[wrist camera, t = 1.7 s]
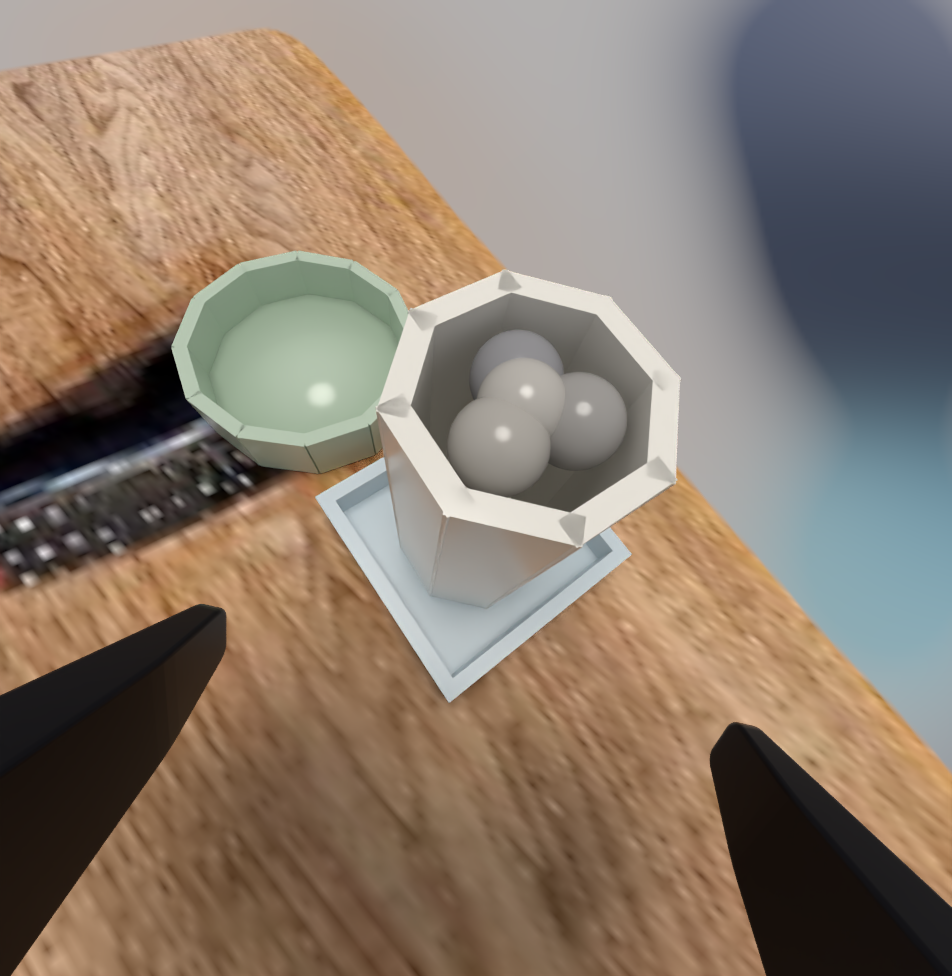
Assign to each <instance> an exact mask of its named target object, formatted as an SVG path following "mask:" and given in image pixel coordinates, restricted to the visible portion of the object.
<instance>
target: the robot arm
mask: <svg viewBox="0 0 952 976" xmlns="http://www.w3.org/2000/svg"><path fill="white" fill-rule="evenodd" d="M225 649H226V612H225V610H224V609H222V608H219V607H214V606H210V605H205V604H199V605H195V606H193V607H191V608H189V609H186V610H184V611H182V612H180V613H178V614H176V615H173V616H171V617H169V618H167V619H165V620H163V621H160V622H158V623H156V624H154V625H152V626H150V627H147V628H145V629H143V630H141V631H139V632H137V633H134V634H132V635H130V636H128V637H126V638H124V639H121V640H119V641H117V642H115V643H113V644H111V645H108V646H106V647H104V648H102V649H100V650H98V651H95V652H93V653H91V654H89V655H87V656H85V657H82V658H80V659H78V660H76V661H74V662H72V663H69V664H67V665H65V666H63V667H61V668H59V669H57V670H54V671H52V672H50V673H48V674H46V675H44V676H41V677H39V678H37V679H35V680H33V681H31V682H28V683H26V684H24V685H22V686H20V687H18V688H15V689H13V690H11V691H9V692H7V693H5V694H2V695H0V976H11V975H12V973H13V972H14V970H15V969H16V967H17V966H18V965H19V963H20V962H21V960H22V959H23V958H24V956H25V955H26V953H27V952H28V950H29V949H30V948H31V946H32V945H33V943H34V942H35V940H36V939H37V938H38V936H39V935H40V933H41V932H42V931H43V929H44V928H45V926H46V925H47V923H48V922H49V921H50V919H51V918H52V916H53V915H54V913H55V912H56V911H57V909H58V908H59V906H60V905H61V904H62V902H63V901H64V899H65V898H66V896H67V895H68V894H69V892H70V891H71V889H72V888H73V886H74V885H75V884H76V882H77V881H78V879H79V878H80V877H81V875H82V874H83V872H84V871H85V869H86V868H87V867H88V865H89V864H90V862H91V861H92V859H93V858H94V857H95V855H96V854H97V852H98V851H99V850H100V848H101V847H102V845H103V844H104V842H105V841H106V840H107V838H108V837H109V835H110V834H111V833H112V831H113V830H114V828H115V827H116V825H117V824H118V823H119V821H120V820H121V818H122V817H123V815H124V814H125V813H126V811H127V810H128V808H129V807H130V806H131V804H132V803H133V801H134V800H135V798H136V797H137V796H138V794H139V793H140V791H141V790H142V788H143V787H144V786H145V784H146V783H147V781H148V780H149V779H150V777H151V776H152V774H153V773H154V771H155V770H156V769H157V767H158V766H159V764H160V763H161V761H162V760H163V758H164V757H165V755H166V754H167V752H168V751H169V749H170V748H171V746H172V745H173V743H174V741H175V740H176V738H177V736H178V735H179V733H180V731H181V729H182V728H183V726H184V724H185V722H186V721H187V719H188V717H189V715H190V714H191V712H192V710H193V708H194V707H195V705H196V703H197V701H198V700H199V698H200V696H201V694H202V693H203V691H204V689H205V687H206V686H207V684H208V682H209V680H210V679H211V677H212V675H213V673H214V672H215V670H216V668H217V666H218V665H219V663H220V661H221V659H222V657H223V655H224V652H225ZM710 767H711V772H712V777H713V781H714V786H715V790H716V795H717V799H718V804H719V808H720V813H721V817H722V822H723V827H724V831H725V836H726V840H727V845H728V849H729V853H730V857H731V861H732V865H733V869H734V872H735V876H736V879H737V883H738V886H739V889H740V892H741V896H742V899H743V902H744V905H745V909H746V912H747V915H748V918H749V922H750V925H751V928H752V931H753V935H754V938H755V941H756V944H757V948H758V951H759V954H760V957H761V961H762V964H763V967H764V970H765V973H766V976H952V907H951V906H950V905H949V904H948V903H946V902H945V901H944V900H943V899H942V898H941V897H940V896H939V895H938V894H937V893H936V892H935V891H934V890H933V889H931V888H930V887H929V886H928V885H927V884H926V883H925V882H924V881H923V880H922V879H921V878H920V877H919V876H917V875H916V874H915V873H914V872H913V871H912V870H911V869H910V868H909V867H908V866H907V865H906V864H905V863H903V862H902V861H901V860H900V859H899V858H898V857H897V856H896V855H895V854H894V853H893V852H892V851H891V850H890V849H888V848H887V847H886V846H885V845H884V844H883V843H882V842H881V841H880V840H879V839H878V838H877V837H876V836H874V835H873V834H872V833H871V832H870V831H869V830H868V829H867V828H866V827H865V826H864V825H863V824H862V823H860V822H859V821H858V820H857V819H856V818H855V817H854V816H853V815H852V814H851V813H850V812H849V811H848V810H847V809H845V808H844V807H843V806H842V805H841V804H840V803H839V802H838V801H837V800H836V799H835V798H834V797H833V796H831V795H830V794H829V793H828V792H827V791H826V790H825V789H824V788H823V787H822V786H821V785H820V784H819V783H817V782H816V781H815V780H814V779H813V778H812V777H811V776H810V775H809V774H808V773H807V772H806V771H805V770H804V769H802V768H801V767H800V766H799V765H798V764H797V763H796V762H795V761H794V760H793V759H792V758H791V757H790V756H788V755H787V754H786V753H785V752H784V751H783V750H782V749H781V748H780V747H779V746H778V745H777V744H776V743H775V742H773V741H772V740H771V739H770V738H769V737H768V736H767V735H766V734H765V733H764V732H763V731H762V730H760V729H759V728H757V727H755V726H752V725H747V724H743V723H738V722H733V723H731V724H729V725H728V726H727V728H726V729H725V731H724V732H723V734H722V735H721V737H720V738H719V740H718V741H717V743H716V744H715V746H714V747H713V749H712V750H711V754H710Z"/></svg>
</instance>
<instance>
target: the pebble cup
mask: <svg viewBox="0 0 952 976" xmlns="http://www.w3.org/2000/svg"><path fill="white" fill-rule="evenodd" d="M407 312H408V317H407V320H406V323H405V326H404V329H403V332H402V335H401V338H400V341H399V344H398V347H397V350H396V353H395V356H394V359H393V362H392V365H391V368H390V371H389V374H388V377H387V380H386V383H385V386H384V389H383V392H382V395H381V398H380V401H379V404H378V406H376V407H375V408H376V415H377V420H378V426H379V432H380V437H381V443H382V448H383V454H384V460H385V465H386V471H387V477H388V482H389V488H390V493H391V499H392V505H393V510H394V516H395V522H396V527H397V533H398V539H399V544H400V549H402V550H403V552H404V554H405V555H406V557H407V559H408V560H409V562H410V564H411V565H412V567H413V569H414V570H415V572H416V574H417V575H418V577H419V579H420V580H421V582H422V584H423V585H424V587H425V588H426V590H427V592H428V593H429V596H430V597H431V596H433V597H438V598H442V599H446V600H451V601H455V602H460V603H464V604H468V605H473V606H477V607H482V608H484V609H488V608H489V607H491V606H492V605H494V604H495V603H497V602H499V601H500V600H502V599H503V598H505V597H506V596H508V595H509V594H511V593H512V592H514V591H516V590H517V589H519V588H520V587H522V586H523V585H525V584H526V583H528V582H529V581H531V580H533V579H534V578H536V577H537V576H539V575H540V574H542V573H543V572H545V571H547V570H548V569H550V568H551V567H553V566H554V565H556V564H557V563H559V562H560V561H562V560H564V559H565V558H567V557H568V556H570V555H571V554H573V553H574V552H576V551H577V550H579V549H581V548H582V547H583V545H584V544H585V543H587V542H588V541H590V540H591V539H593V538H594V537H596V536H597V535H599V534H600V533H602V532H603V531H605V530H606V529H608V528H609V527H611V526H612V525H614V524H615V523H617V522H618V521H620V520H621V519H623V518H625V517H626V516H628V515H629V514H631V513H632V512H634V511H635V510H637V509H638V508H640V507H641V506H643V505H644V504H646V503H647V502H649V501H650V500H652V499H653V498H655V497H656V496H658V495H659V494H661V493H662V492H664V491H665V490H667V489H669V488H670V487H672V486H673V485H675V484H676V481H677V478H676V460H677V458H676V457H677V435H678V411H679V387H680V381H681V379H680V376H679V375H677V374H676V373H675V372H674V371H673V369H672V368H671V367H670V366H669V365H668V364H667V362H666V361H665V360H664V359H663V358H662V357H661V356H660V354H659V353H658V352H657V351H656V350H655V349H654V348H653V346H652V345H651V344H650V343H649V342H648V341H647V339H646V338H645V337H644V336H643V335H642V334H641V333H640V331H639V330H638V329H637V328H636V327H635V326H634V325H633V323H632V322H631V321H630V320H629V319H628V318H627V317H626V315H625V314H624V313H623V312H622V311H621V310H620V308H619V307H618V306H617V305H616V304H615V303H614V301H612V297H609V296H604V295H600V294H596V293H592V292H588V291H584V290H581V289H576V288H573V287H569V286H565V285H561V284H557V283H553V282H549V281H546V280H542V279H537V278H534V277H530V276H526V275H522V274H518V273H515V272H511V271H508V270H507V269H506V270H503V269H502V271H501V272H499V273H497V274H494V275H492V276H489V277H487V278H485V279H482V280H480V281H478V282H475V283H473V284H470V285H468V286H466V287H463V288H461V289H458V290H456V291H454V292H451V293H449V294H447V295H444V296H442V297H439V298H437V299H435V300H432V301H430V302H427V303H425V304H423V305H420V306H418V307H416V308H410V310H408V311H407Z"/></svg>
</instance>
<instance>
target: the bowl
mask: <svg viewBox="0 0 952 976" xmlns="http://www.w3.org/2000/svg"><path fill="white" fill-rule="evenodd" d="M407 311H408V309H407V307H406V305H405V303H404V301H403V299H402V297H401V295H400V293H399V291H397V289H396V288H394V287H393V286H392V285H390V284H389V283H387V282H386V281H384V280H383V279H381V278H380V277H378V276H377V275H375V274H374V273H372V272H371V271H369V270H368V269H366V268H365V267H363V266H362V265H360V264H359V263H357V262H356V261H353V260H349V259H344V258H338V257H332V256H326V255H320V254H315V253H309V252H303V251H298V253H297V251H293V252H288V253H283V254H279V255H274V256H270V257H265V258H260V259H256V260H251V261H246V262H242V263H240V265H239V264H237V265H236V266H234V267H233V268H232V269H230V270H229V271H227V272H226V273H225V274H223V275H222V276H221V277H219V278H218V279H217V280H215V281H214V282H212V283H211V284H210V285H208V286H207V287H206V288H204V289H203V290H202V291H200V292H199V293H197V294H196V295H195V296H193V298H192V299H191V301H190V304H189V306H188V309H187V311H186V313H185V316H184V318H183V320H182V323H181V325H180V328H179V330H178V332H177V335H176V337H175V339H174V342H173V344H172V347H173V348H172V351H173V355H174V358H175V362H176V365H177V369H178V372H179V376H180V379H181V383H182V387H183V390H184V394H185V397H186V399H187V401H188V402H189V403H190V404H191V405H192V406H193V407H194V408H195V409H196V410H197V412H198V413H199V414H200V415H201V416H202V417H203V418H204V419H205V420H206V421H207V422H208V424H209V425H210V426H211V427H212V428H213V429H214V430H215V431H216V432H217V433H218V434H219V435H220V436H222V437H223V438H224V439H226V440H227V441H228V442H230V443H231V444H232V445H233V446H235V447H236V448H237V449H239V450H240V451H241V452H243V453H244V454H245V455H247V456H248V457H249V458H250V459H252V460H253V461H254V462H256V463H257V464H258V465H261V466H264V467H272V468H279V469H287V470H294V471H301V472H309V473H316V474H319V472H320V473H324V472H327V471H330V470H333V469H336V468H339V467H342V466H345V465H348V464H351V463H353V462H356V461H359V460H362V459H365V458H368V457H371V456H374V455H375V453H376V454H377V453H378V452H379V451H380V450H381V449H382V443H381V437H380V432H379V426H378V420H377V415H376V408H375V407H376V406H378V404H379V401H380V398H381V395H382V392H383V389H384V386H385V383H386V380H387V377H388V374H389V371H390V368H391V365H392V362H393V359H394V356H395V353H396V350H397V347H398V344H399V341H400V338H401V335H402V332H403V329H404V326H405V323H406V320H407V317H408V312H407Z"/></svg>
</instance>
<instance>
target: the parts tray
mask: <svg viewBox="0 0 952 976" xmlns="http://www.w3.org/2000/svg"><path fill="white" fill-rule="evenodd" d="M315 498H316V500H317V501H318V503H319V504H320V506H321V507H322V509H323V510H324V512H325V513H326V515H327V516H328V518H329V520H330V521H331V523H332V524H333V526H334V527H335V529H336V530H337V532H338V533H339V535H340V536H341V538H342V539H343V541H344V543H345V544H346V546H347V547H348V549H349V550H350V552H351V553H352V555H353V556H354V558H355V559H356V561H357V563H358V564H359V566H360V567H361V569H362V570H363V572H364V573H365V575H366V576H367V578H368V579H369V581H370V583H371V584H372V586H373V587H374V589H375V590H376V592H377V593H378V595H379V596H380V598H381V599H382V601H383V602H384V604H385V606H386V607H387V609H388V610H389V612H390V613H391V615H392V616H393V618H394V619H395V621H396V622H397V624H398V626H399V627H400V629H401V630H402V632H403V633H404V635H405V636H406V638H407V639H408V641H409V642H410V644H411V645H412V647H413V649H414V650H415V652H416V653H417V655H418V656H419V658H420V659H421V661H422V662H423V664H424V665H425V667H426V669H427V670H428V672H429V673H430V675H431V676H432V678H433V679H434V681H435V682H436V684H437V685H438V687H439V688H440V690H441V692H442V693H443V695H444V696H445V698H446V699H447V701H448V702H449V703H450V702H451V701H452V700H454V699H455V698H456V697H457V696H458V695H460V694H461V693H462V692H463V691H465V690H466V689H467V688H468V687H469V686H471V685H472V684H473V683H474V682H476V681H477V680H478V679H479V678H481V677H482V676H483V675H484V674H485V673H487V672H488V671H489V670H490V669H492V668H493V667H494V666H495V665H497V664H498V663H499V662H500V661H501V660H503V659H504V658H505V657H506V656H508V655H509V654H510V653H511V652H512V651H514V650H515V649H516V648H517V647H519V646H520V645H521V644H522V643H524V642H525V641H526V640H527V639H528V638H530V637H531V636H532V635H533V634H535V633H536V632H537V631H538V630H540V629H541V628H542V627H543V626H544V625H546V624H547V623H548V622H549V621H551V620H552V619H553V618H554V617H555V616H557V615H558V614H559V613H560V612H562V611H563V610H564V609H565V608H567V607H568V606H569V605H570V604H571V603H573V602H574V601H575V600H576V599H578V598H579V597H580V596H581V595H583V594H584V593H585V592H586V591H587V590H589V589H590V588H591V587H592V586H594V585H595V584H596V583H597V582H598V581H600V580H601V579H602V578H603V577H605V576H606V575H607V574H608V573H610V572H611V571H612V570H613V569H614V568H616V567H617V566H618V565H619V564H621V563H622V562H623V561H624V560H625V559H627V558H628V557H629V556H630V555H632V554H631V553H630V551H629V550H628V549H627V548H626V546H625V545H624V544H623V543H622V542H621V540H620V539H619V538H618V537H617V535H616V534H615V533H614V532H613V531H612V529H611V528H610V527H609V528H608V529H606V530H605V531H603V532H602V533H600V534H599V535H597V536H596V537H594V538H593V539H591V540H590V541H588V542H587V543H585V544H584V545H583V547H582V548H581V549H579V550H577V551H576V552H574V553H573V554H571V555H570V556H568V557H567V558H565V559H564V560H562V561H560V562H559V563H557V564H556V565H554V566H553V567H551V568H550V569H548V570H547V571H545V572H543V573H542V574H540V575H539V576H537V577H536V578H534V579H533V580H531V581H529V582H528V583H526V584H525V585H523V586H522V587H520V588H519V589H517V590H516V591H514V592H512V593H511V594H509V595H508V596H506V597H505V598H503V599H502V600H500V601H499V602H497V603H495V604H494V605H492V606H491V607H489V608H488V609H484V608H482V607H477V606H473V605H468V604H464V603H460V602H455V601H451V600H446V599H442V598H438V597H433V596H431V597H430V596H429V593H428V592H427V590H426V588H425V587H424V585H423V584H422V582H421V580H420V579H419V577H418V575H417V574H416V572H415V570H414V569H413V567H412V565H411V564H410V562H409V560H408V559H407V557H406V555H405V554H404V552H403V550H402V549H400V544H399V539H398V533H397V527H396V522H395V516H394V510H393V505H392V499H391V493H390V488H389V482H388V477H387V471H386V465H385V460H384V457H383V458H381V459H379V460H378V461H376V462H374V463H372V464H371V465H369V466H367V467H366V468H364V469H362V470H360V471H359V472H357V473H355V474H353V475H352V476H350V477H348V478H347V479H345V480H343V481H341V482H340V483H338V484H336V485H335V486H333V487H331V488H329V489H328V490H326V491H324V492H323V493H321V494H319V495H317V496H316V497H315Z"/></svg>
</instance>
